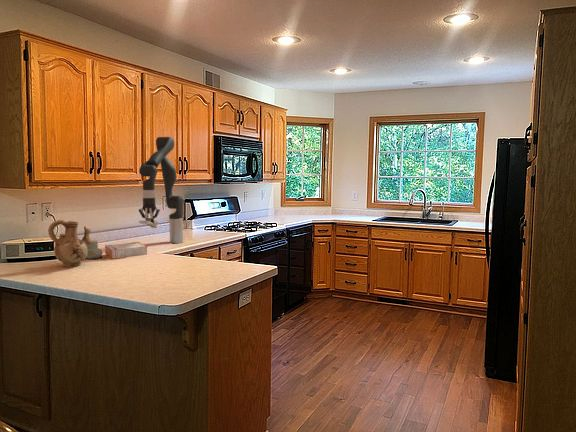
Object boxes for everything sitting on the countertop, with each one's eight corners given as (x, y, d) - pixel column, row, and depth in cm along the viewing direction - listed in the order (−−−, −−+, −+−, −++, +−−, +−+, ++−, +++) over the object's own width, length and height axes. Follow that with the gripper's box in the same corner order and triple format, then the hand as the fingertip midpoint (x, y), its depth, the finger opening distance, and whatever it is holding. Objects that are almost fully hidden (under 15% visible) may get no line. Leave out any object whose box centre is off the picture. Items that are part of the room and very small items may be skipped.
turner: (150, 227, 306) (150, 221, 306) (159, 227, 306) (160, 221, 306) (138, 222, 284) (139, 215, 285) (148, 222, 284) (148, 215, 285)
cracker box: (139, 250, 295) (104, 254, 282) (139, 241, 294) (104, 244, 281) (147, 256, 284) (111, 259, 271) (147, 246, 283) (111, 249, 270)
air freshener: (80, 259, 270) (79, 242, 269) (86, 256, 278) (85, 240, 277) (98, 259, 270) (98, 242, 269) (104, 257, 278) (104, 240, 277)
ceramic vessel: (80, 269, 242) (78, 221, 240) (43, 269, 243) (41, 220, 241) (95, 262, 261) (94, 217, 258) (61, 262, 261) (59, 217, 259)
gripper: (161, 196, 297) (162, 224, 299) (140, 196, 298) (140, 224, 299) (158, 197, 290) (158, 225, 291) (135, 197, 290) (136, 225, 292)
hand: (149, 224), depth 295 cm, fingers closed on turner, 2 cm apart
